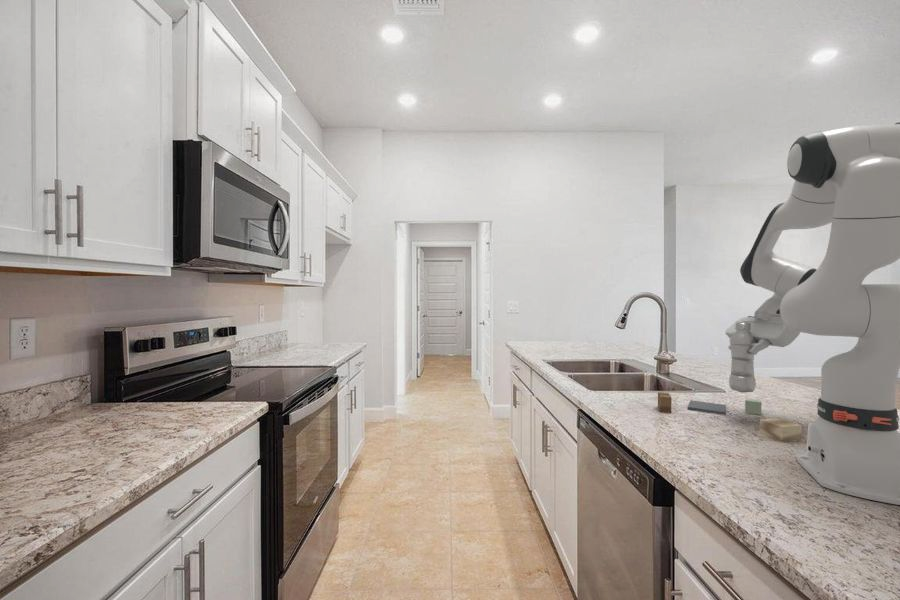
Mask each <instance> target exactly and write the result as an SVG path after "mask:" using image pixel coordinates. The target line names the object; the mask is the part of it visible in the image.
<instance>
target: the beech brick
mask: <svg viewBox="0 0 900 600" xmlns="http://www.w3.org/2000/svg"><path fill="white" fill-rule="evenodd" d="M802 427H803V426H802V425H801V424H799V423H794V422H792V421H788V420H785V419H783V418H779V417H778V418H767V419H765V418H764V419H763V418H762V419H759V435H761V436H763V437H764V436H765V437H766V436H767V437H766V438H769V437H770V439H772V438H773V439H772V440H775V441H777V440H778V442H780V441H781V442H780V443H785V442H784V441H790V442H795V441H794V440H802V439H803V438H802V436H803V434H802V432H803V431H802V430H803V428H802Z"/></svg>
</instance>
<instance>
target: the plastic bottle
mask: <svg viewBox="0 0 900 600" xmlns="http://www.w3.org/2000/svg"><path fill="white" fill-rule="evenodd" d="M735 329H736V332H735V333H734V334H733V335H732V336H731V338H729V345H730V348H731V350H730V353H731V354H730V355H731V358H730V359H731V365H730V368H731V369H730V374H729V379H728V384H729V387H730V389H731V390H732V391H734V392H735V391H736V392H738V393H742V394H743V393H753V392H754V391H755V390H756V386H757V382H756V377H755V367H754V365H755V363H754V360H755V355H754V354H750V353H749V352H748V349H749V348H750V347H751V346H754V345H756V339H755V338H754V336H753V335H752V334H751V332H750V329H751V324H750V323H736V325H735Z"/></svg>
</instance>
